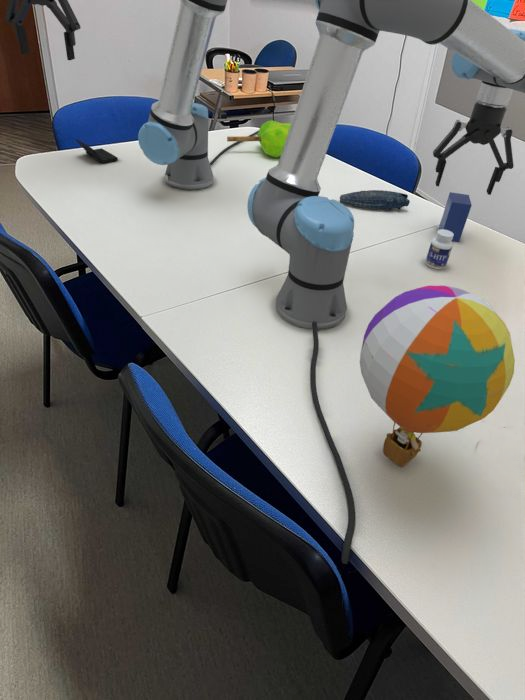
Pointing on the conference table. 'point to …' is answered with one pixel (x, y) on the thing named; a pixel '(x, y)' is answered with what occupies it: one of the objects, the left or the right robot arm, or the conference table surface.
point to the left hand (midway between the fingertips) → (48, 56)
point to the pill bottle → (440, 249)
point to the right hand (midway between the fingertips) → (462, 188)
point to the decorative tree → (269, 137)
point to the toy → (435, 364)
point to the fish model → (376, 199)
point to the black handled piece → (98, 153)
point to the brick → (456, 214)
